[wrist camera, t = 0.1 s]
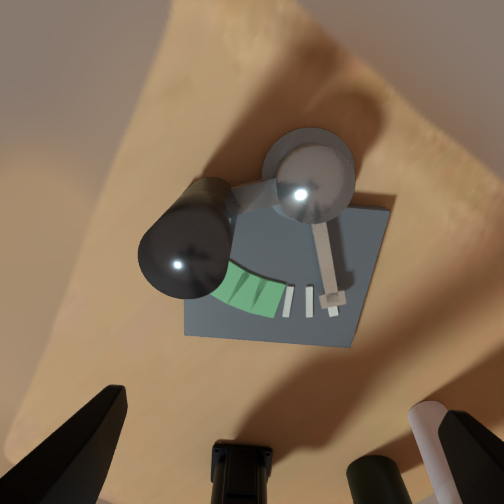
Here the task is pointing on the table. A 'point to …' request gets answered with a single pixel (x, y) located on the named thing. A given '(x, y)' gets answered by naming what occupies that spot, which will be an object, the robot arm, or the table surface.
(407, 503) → the wine bottle
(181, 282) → the dial
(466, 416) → the robot arm
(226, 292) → the gauge board
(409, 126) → the table surface
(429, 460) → the smoothie
